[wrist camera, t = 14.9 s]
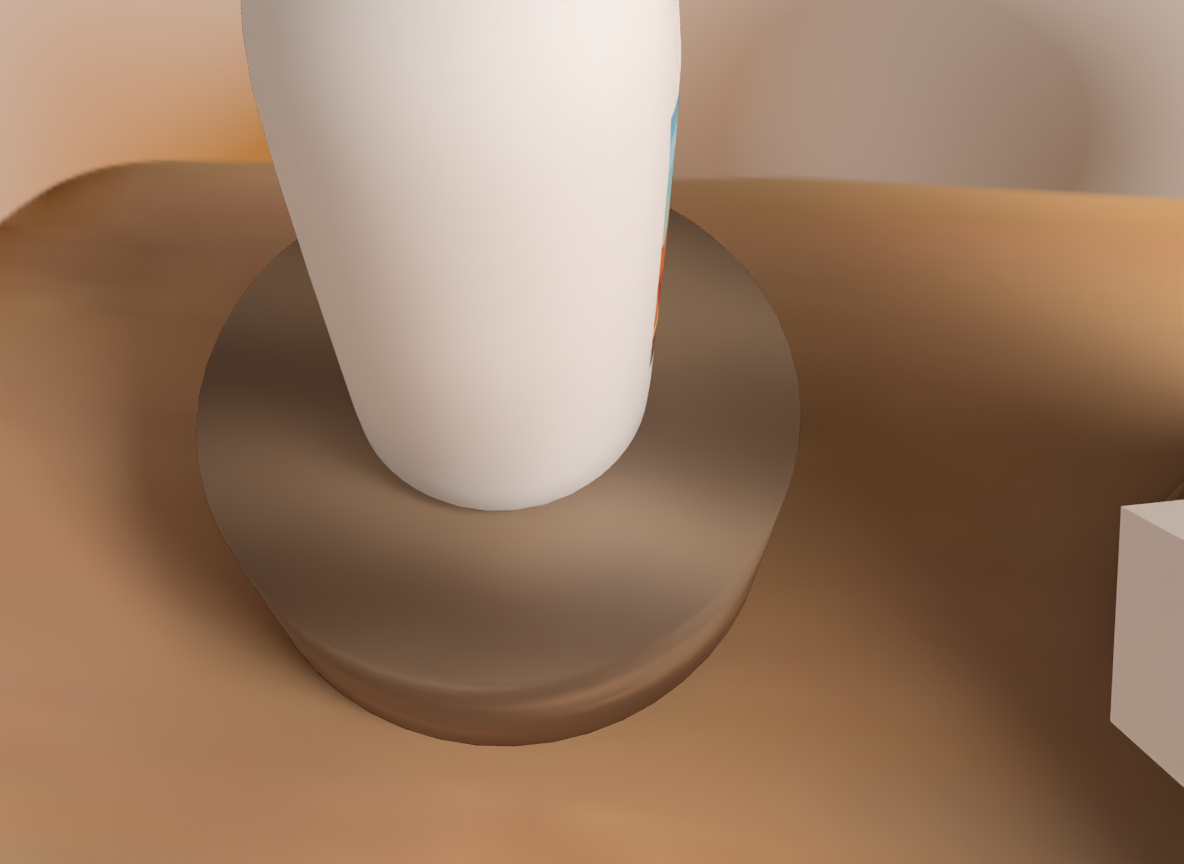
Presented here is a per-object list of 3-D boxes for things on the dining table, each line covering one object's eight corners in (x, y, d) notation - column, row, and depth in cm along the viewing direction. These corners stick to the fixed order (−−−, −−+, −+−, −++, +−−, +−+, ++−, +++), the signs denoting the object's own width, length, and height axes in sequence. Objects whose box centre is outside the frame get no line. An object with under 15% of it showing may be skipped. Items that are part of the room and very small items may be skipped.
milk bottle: (642, 531, 26) (771, -461, 9) (333, 511, 27) (-115, -502, 9) (653, 285, 30) (757, -735, 13) (384, 269, 30) (134, -760, 13)
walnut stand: (353, 254, 38) (319, 129, 33) (794, 335, 37) (830, 218, 32) (171, 677, 30) (88, 601, 25) (723, 804, 29) (756, 750, 24)
